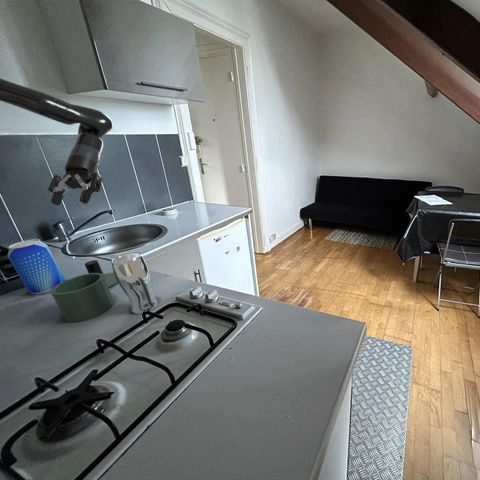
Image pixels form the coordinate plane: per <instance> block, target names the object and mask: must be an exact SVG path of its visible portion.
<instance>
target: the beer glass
mask: <svg viewBox="0 0 480 480" xmlns="http://www.w3.org/2000/svg"><path fill="white" fill-rule="evenodd" d="M110 264H111V269H112V271H113V272H112V273H114V274H115V277H116V279H117V283H118V285H119V287H120V288H121V290H122V291H123V292H124V294H125V295H126V296H127V298H128V300H129V302H130V308H131V312H132V313H133V314H135V315H141V314H144V313H143V312H146V313H148V312H150V311H153V310H154V309H155V308H156V307H158V304H159V302H158V299H157V298H156V297H155V295H154V293H153V290H152V282H151V275H150V271H149V267H148V265H147V263H146V260H145V258H144V256H143V254H142V253H141V252H128V253H123V254H121V255H118V256H116V257H114V258H112V259H111V260H110Z"/></svg>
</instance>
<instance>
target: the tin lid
mask: <svg viewBox="0 0 480 480" xmlns="http://www.w3.org/2000/svg"><path fill="white" fill-rule="evenodd" d="M84 266H85V269H86V271H87V274H89V273H100V274H103V276H104V278H105V281H106V283H107V285H108V288H110V287H112V286H114V285H116V284H117V283H118V282H117V279H116V277H115V274H114V272H108V273H104V272H103V269H102V268H101V265H100V263H99V261H98V259H93V260H89V261H87V262H84Z"/></svg>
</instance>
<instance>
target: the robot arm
mask: <svg viewBox="0 0 480 480" xmlns="http://www.w3.org/2000/svg"><path fill="white" fill-rule="evenodd" d="M0 102H2V103H3V102H4V103H6V104H9V105H12V106H15V107H17V108H19V109H23V110H26V111H28V112H30V113H33V114H37V115H39V116H41V117H44V118H46V119H49V120H51V121H52V120H53V121H55V122H58V123H61V124H64V125H69V126H73V125H75V124H76V125H77V124H79V125H78V130H77V137H76V140H75V141H74V142H75V143H74V145H73V147H72V149H71V151H70V153H69V155H68V157H67V160H66V163H65V166H64V169H65V174H64V175H62V176H59V175H58V174H54V175H53V177H52V179H51V181H50V183H49V186H48V187H47V191H48V192H51V193H52V197H51V199H50V202H51V203H52V204H53V205H55V206H61V204H62V202H63V199H64V195H65V194H66V193H69V192H71V191H72V190H76V189H82V191H81V193H80V196H79V202H80V203H82V204H83V205H87V204H89V202H90V200H91V197H92V195H93V194H94V193H95V192H96V193H99V192H100V191H101V187H102V183H103V178H104V177H103V176H102V175H100V174H99V173H98V168H99V165H100V162H101V156H102V153H103V149H104V141H103V137H104V136H105V135H107V134H108V133H109V132H111V130H113V127H114V123H113V121H112V119H111V117H110V116H108V115H107V114H105V113H104V112H102V111H100V110H99V109H95V108H92V107H88V106H87V107H86V106H82V105H78V104H74V103H70V102H68V101H65V100H64V99H60V98H58V97H56V96H53V95H51V94H49V93H46V92H43V91H40V90H37V89H34V88H31V87H27V86H24V85H21V84H18V83H15V82H12V81H9V80H6V79H3V78H1V77H0Z"/></svg>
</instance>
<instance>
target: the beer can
mask: <svg viewBox="0 0 480 480" xmlns="http://www.w3.org/2000/svg"><path fill="white" fill-rule="evenodd" d="M7 249H8V253H7V257H8V259H9V261H10V262H11V264H12V266H13V268H14V269H15V271H16V273H17V274H18V277H19V278H20V280H21V282H22V283H23V285H24V287H25V289H26V290H27V292H28V293H29V294H32V295H38V296H39V297H40V295H42V296H44V295H46V294H47V295H49V294H50V292H51V291H52V289H53V288H54V287H55V286H56V285H58V284H60V283H62V282H63V281H66V279H65V276H64V275H63V273H62V271H61V269H60V267H59V265H58V264H57V261H56V260H55V257H54V256H53V253H52V251H51V250H50V247H49V246H48V244H46V243H44V242H43V241H41V239H39V238H34V239H26V240H22V241H19V242H15V243H13V244H11V245H9V246H8V247H7Z"/></svg>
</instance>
